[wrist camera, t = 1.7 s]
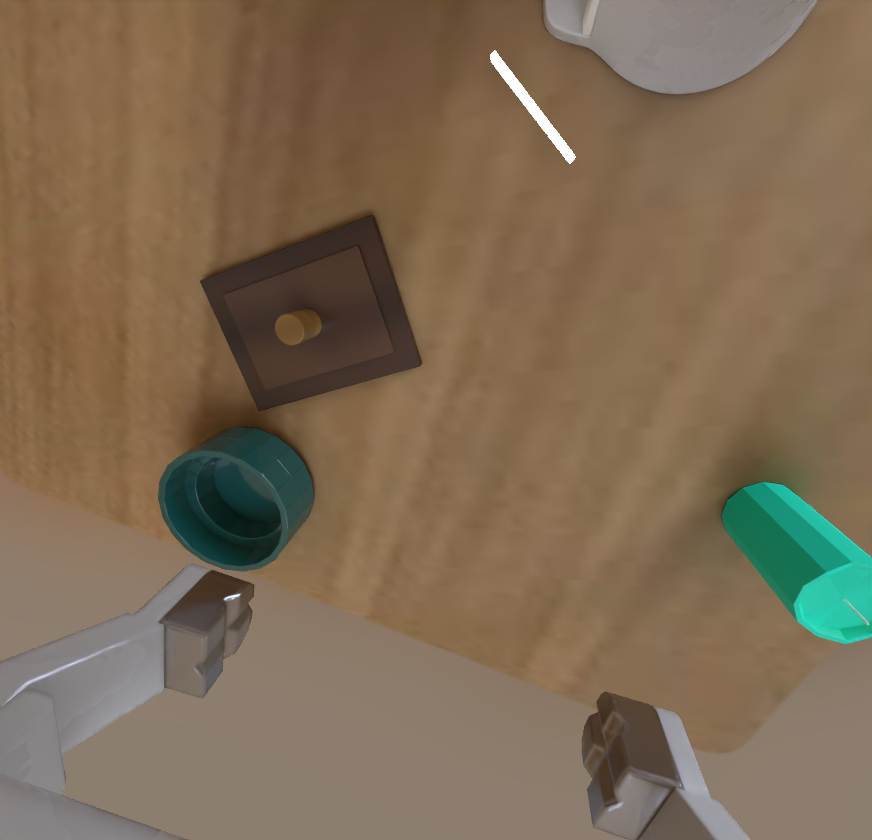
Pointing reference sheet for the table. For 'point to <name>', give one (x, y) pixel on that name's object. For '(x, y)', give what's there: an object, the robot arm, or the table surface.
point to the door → (314, 316)
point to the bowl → (236, 498)
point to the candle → (804, 561)
